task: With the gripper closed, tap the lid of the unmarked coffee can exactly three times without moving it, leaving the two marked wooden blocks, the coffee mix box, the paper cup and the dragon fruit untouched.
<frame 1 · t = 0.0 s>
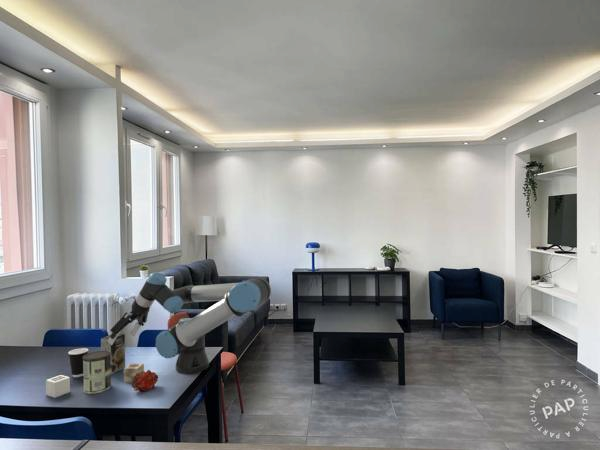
hand: (121, 338, 176), 15 cm above the table, tool tilted 35°, fingers open, 13 cm apart
coffee box: (113, 370, 178), on the table
coffee can: (97, 389, 158), on the table
dragon fruit: (145, 389, 157), on the table
dixie cup: (78, 375, 173), on the table
birch block: (134, 379, 167), on the table
off-white block: (58, 393, 154), on the table
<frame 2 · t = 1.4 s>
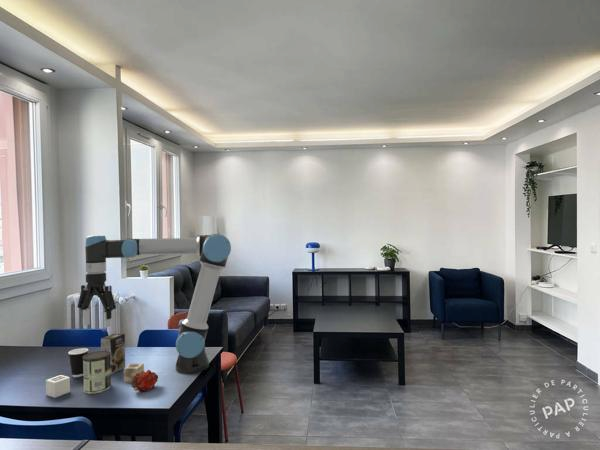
hand: (96, 325, 158), 26 cm above the table, tool pointing down, fingers open, 10 cm apart
nothing on the table moved.
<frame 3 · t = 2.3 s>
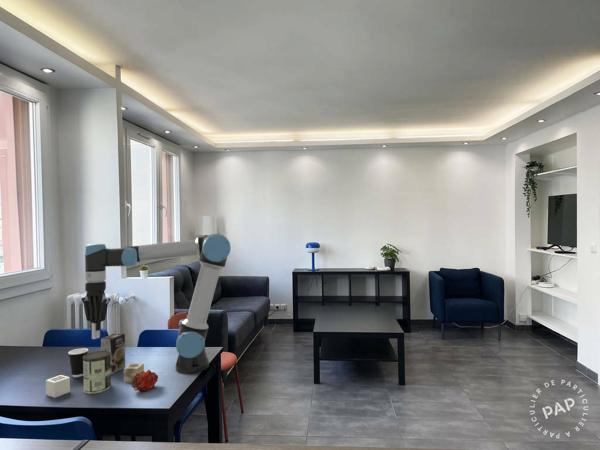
hand: (95, 338, 158), 21 cm above the table, tool pointing down, fingers closed
nothing on the table moved.
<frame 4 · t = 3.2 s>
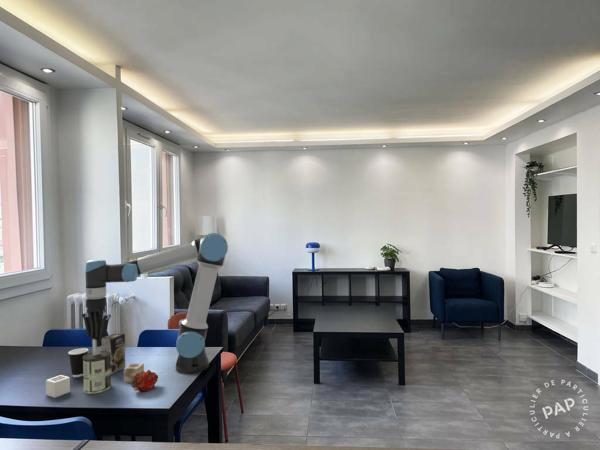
hand: (96, 354, 158), 14 cm above the table, tool pointing down, fingers closed
coffee can: (97, 389, 158), on the table, touching gripper
everything else where it was.
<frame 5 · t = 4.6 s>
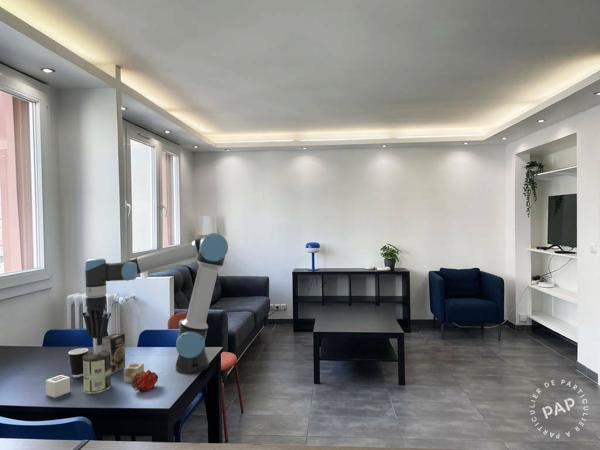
hand: (97, 352, 158), 15 cm above the table, tool pointing down, fingers closed
coffee can: (97, 389, 158), on the table
everything else where it was.
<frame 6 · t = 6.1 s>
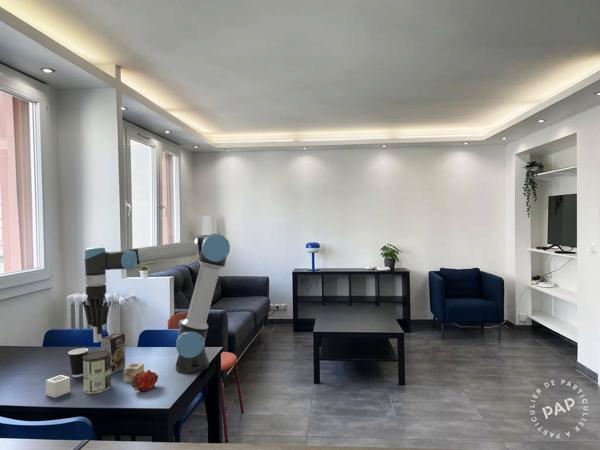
hand: (97, 341, 158), 19 cm above the table, tool pointing down, fingers closed
nothing on the table moved.
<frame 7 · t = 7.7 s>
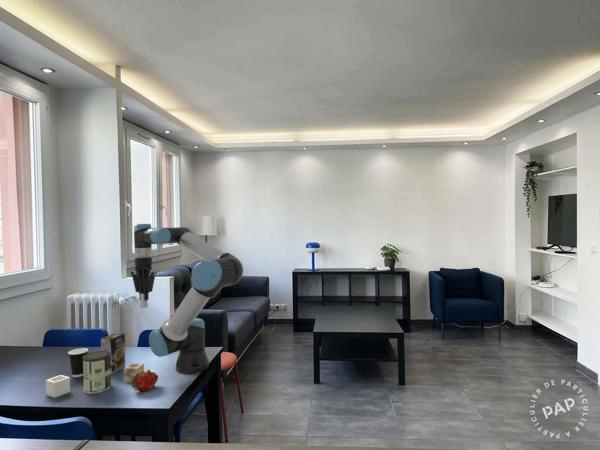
hand: (144, 307, 178), 29 cm above the table, tool pointing down, fingers closed
nothing on the table moved.
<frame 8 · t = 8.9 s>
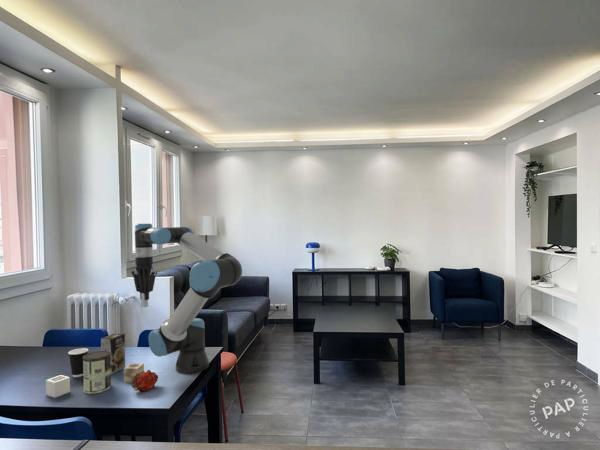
hand: (144, 306, 178), 29 cm above the table, tool pointing down, fingers closed
nothing on the table moved.
at the end: coffee can moved 0.2 cm from its start; coffee can tilted 0°; birch block moved 0.1 cm from its start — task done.
